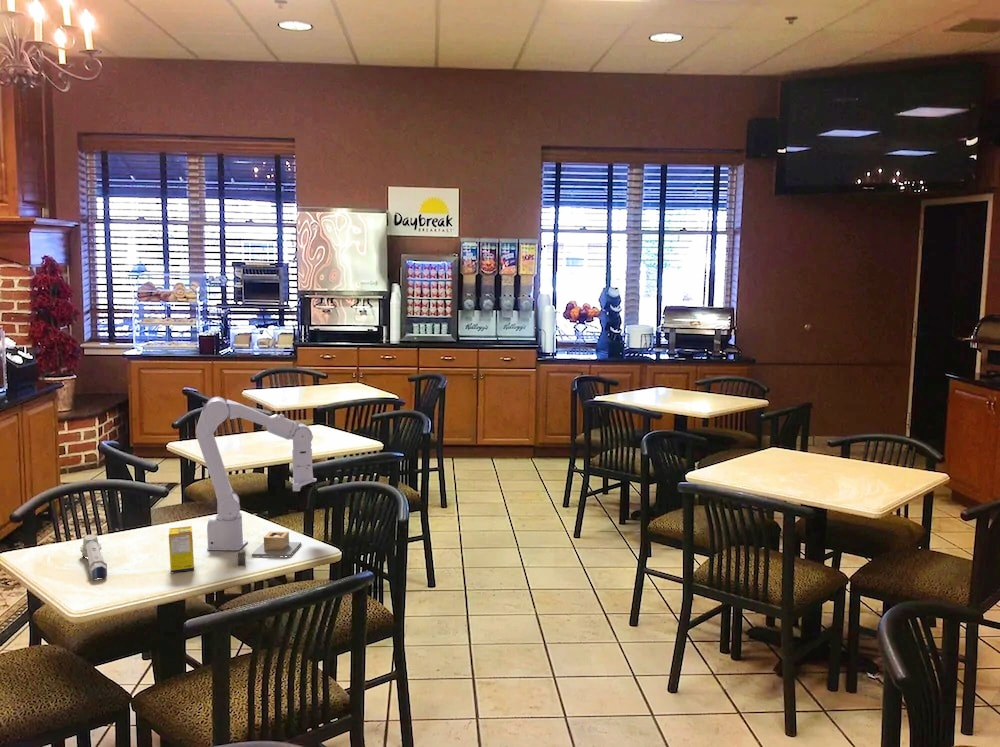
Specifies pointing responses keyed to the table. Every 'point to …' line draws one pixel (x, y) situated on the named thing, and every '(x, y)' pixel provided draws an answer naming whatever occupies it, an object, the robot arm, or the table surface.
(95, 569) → the white flashlight
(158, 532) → the table surface
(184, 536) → the supplement box
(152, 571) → the table surface
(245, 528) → the table surface
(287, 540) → the open wooden box
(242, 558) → the stand rod
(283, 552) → the hub plate
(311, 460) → the robot arm
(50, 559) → the table surface
